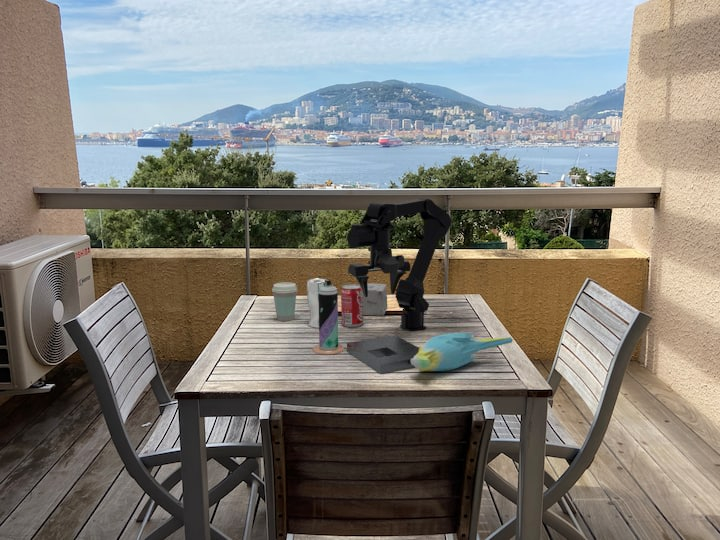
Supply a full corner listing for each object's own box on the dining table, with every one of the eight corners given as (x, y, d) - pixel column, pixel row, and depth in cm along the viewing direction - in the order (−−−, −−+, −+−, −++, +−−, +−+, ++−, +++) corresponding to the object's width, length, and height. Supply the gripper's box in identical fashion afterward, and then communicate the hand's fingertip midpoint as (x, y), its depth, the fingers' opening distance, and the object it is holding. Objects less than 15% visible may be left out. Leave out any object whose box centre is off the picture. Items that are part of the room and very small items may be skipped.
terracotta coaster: (336, 342, 183) (336, 341, 183) (349, 351, 175) (349, 350, 175) (308, 347, 179) (308, 345, 179) (320, 356, 171) (320, 355, 171)
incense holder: (355, 316, 212) (354, 286, 210) (361, 310, 220) (361, 281, 218) (382, 318, 209) (382, 288, 207) (388, 311, 217) (388, 283, 215)
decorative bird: (393, 372, 160) (393, 338, 158) (474, 348, 177) (475, 318, 175) (429, 388, 149) (429, 352, 147) (511, 362, 166) (513, 329, 164)
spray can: (318, 350, 175) (316, 282, 171) (320, 344, 180) (319, 278, 176) (337, 351, 174) (336, 282, 171) (339, 345, 180) (338, 278, 176)
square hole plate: (395, 343, 183) (395, 335, 182) (432, 363, 165) (432, 355, 165) (346, 351, 176) (346, 342, 175) (380, 373, 158) (380, 364, 158)
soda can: (360, 328, 197) (360, 289, 195) (339, 327, 199) (338, 288, 196) (365, 322, 204) (364, 284, 202) (344, 321, 206) (343, 283, 203)
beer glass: (332, 323, 204) (331, 279, 201) (324, 328, 197) (323, 283, 194) (312, 321, 206) (311, 277, 203) (304, 327, 199) (303, 282, 196)
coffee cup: (303, 317, 210) (302, 283, 208) (287, 323, 203) (286, 288, 201) (283, 314, 215) (282, 280, 212) (267, 320, 208) (266, 285, 205)
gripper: (364, 251, 172) (364, 304, 175) (420, 246, 181) (419, 297, 184) (347, 245, 182) (347, 296, 185) (401, 241, 190) (400, 290, 193)
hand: (379, 295), depth 187 cm, fingers open, 9 cm apart
